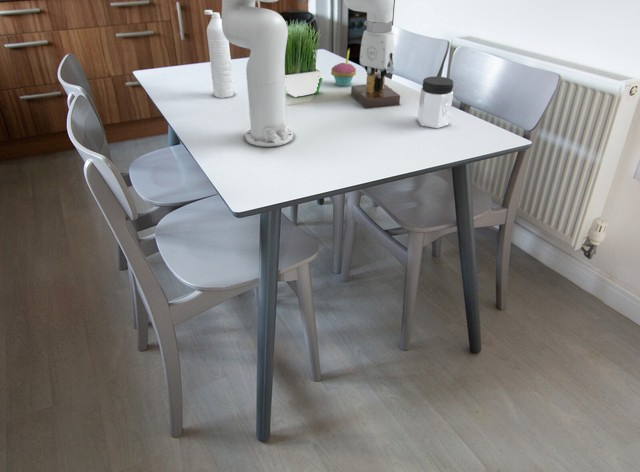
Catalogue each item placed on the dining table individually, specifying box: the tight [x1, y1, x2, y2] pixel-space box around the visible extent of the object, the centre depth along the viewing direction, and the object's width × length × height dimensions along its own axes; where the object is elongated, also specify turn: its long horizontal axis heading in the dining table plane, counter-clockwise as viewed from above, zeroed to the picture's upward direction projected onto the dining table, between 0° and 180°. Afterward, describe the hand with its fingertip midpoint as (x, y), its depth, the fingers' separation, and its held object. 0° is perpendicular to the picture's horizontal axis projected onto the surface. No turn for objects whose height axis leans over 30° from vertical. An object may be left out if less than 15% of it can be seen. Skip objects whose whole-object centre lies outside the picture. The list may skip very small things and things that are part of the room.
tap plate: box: [350, 83, 401, 109], centre depth 159 cm, size 14×11×3 cm
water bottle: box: [203, 9, 235, 99], centre depth 158 cm, size 9×6×25 cm
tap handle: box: [366, 72, 386, 93], centre depth 157 cm, size 7×2×5 cm, turn 137°
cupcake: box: [330, 47, 357, 87], centre depth 171 cm, size 9×8×12 cm
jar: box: [417, 76, 454, 129], centre depth 139 cm, size 9×8×12 cm
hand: (375, 88), depth 158 cm, fingers closed on tap handle, 2 cm apart
